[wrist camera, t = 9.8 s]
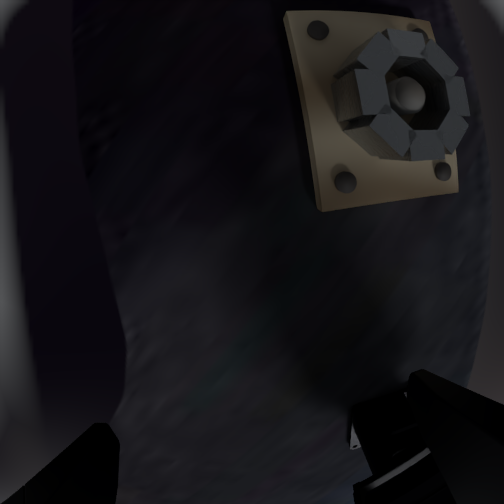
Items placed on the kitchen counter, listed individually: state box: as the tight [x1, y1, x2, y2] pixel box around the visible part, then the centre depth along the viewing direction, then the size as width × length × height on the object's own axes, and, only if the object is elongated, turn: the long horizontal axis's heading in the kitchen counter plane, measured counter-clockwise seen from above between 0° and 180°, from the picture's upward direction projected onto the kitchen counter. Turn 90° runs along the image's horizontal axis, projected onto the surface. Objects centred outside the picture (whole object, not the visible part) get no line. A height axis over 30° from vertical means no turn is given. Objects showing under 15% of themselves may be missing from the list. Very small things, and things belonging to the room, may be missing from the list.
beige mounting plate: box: [283, 10, 458, 212], centre depth 14 cm, size 12×10×5 cm
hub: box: [331, 28, 470, 161], centre depth 14 cm, size 7×7×4 cm
